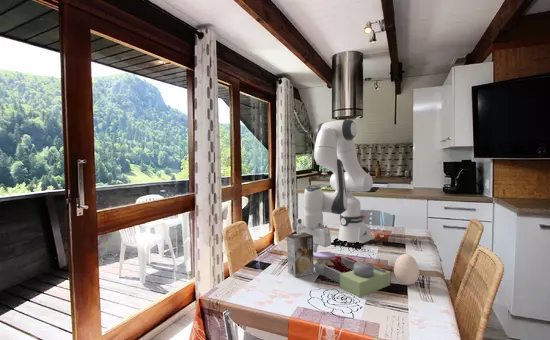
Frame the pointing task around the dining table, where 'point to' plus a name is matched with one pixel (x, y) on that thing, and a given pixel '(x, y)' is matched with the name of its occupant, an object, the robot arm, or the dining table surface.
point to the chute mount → (331, 272)
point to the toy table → (323, 257)
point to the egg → (406, 269)
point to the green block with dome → (364, 279)
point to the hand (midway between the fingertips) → (313, 251)
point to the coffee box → (300, 254)
